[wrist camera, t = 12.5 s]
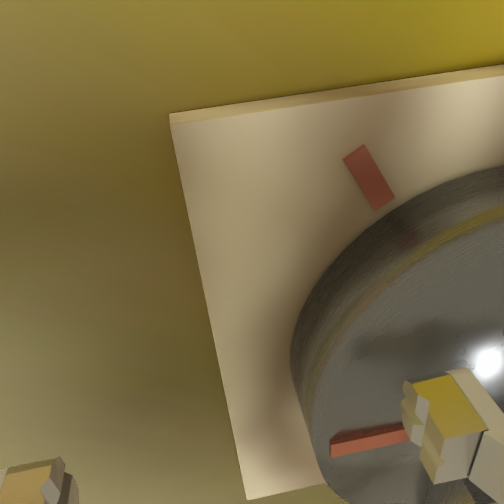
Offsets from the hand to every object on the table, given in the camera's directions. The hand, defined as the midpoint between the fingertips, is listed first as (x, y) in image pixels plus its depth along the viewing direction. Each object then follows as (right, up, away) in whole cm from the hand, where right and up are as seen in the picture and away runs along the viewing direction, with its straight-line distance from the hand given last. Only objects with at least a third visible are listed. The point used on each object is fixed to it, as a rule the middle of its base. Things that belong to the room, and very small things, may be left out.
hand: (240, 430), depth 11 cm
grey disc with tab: (+10, +1, +9) cm, 14 cm away
